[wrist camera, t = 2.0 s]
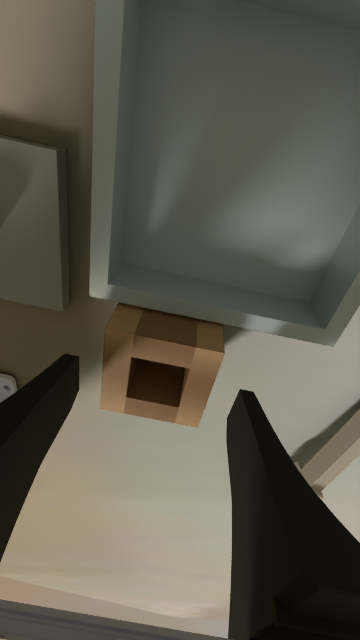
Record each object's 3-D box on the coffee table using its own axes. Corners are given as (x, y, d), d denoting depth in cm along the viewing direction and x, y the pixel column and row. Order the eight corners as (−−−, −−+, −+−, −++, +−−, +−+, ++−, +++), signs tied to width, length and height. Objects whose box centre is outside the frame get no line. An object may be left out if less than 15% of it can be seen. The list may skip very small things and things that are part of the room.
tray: (313, 312, 16) (333, 346, 14) (108, 269, 16) (89, 296, 13) (463, 30, 10) (556, -8, 7) (128, -56, 9) (97, -129, 7)
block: (199, 362, 19) (197, 427, 15) (124, 346, 19) (100, 408, 14) (220, 296, 16) (224, 353, 12) (131, 277, 16) (104, 328, 12)
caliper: (253, 484, 27) (264, 569, 21) (243, 480, 26) (252, 566, 21) (465, 325, 16) (589, 417, 11) (451, 317, 16) (571, 406, 11)
